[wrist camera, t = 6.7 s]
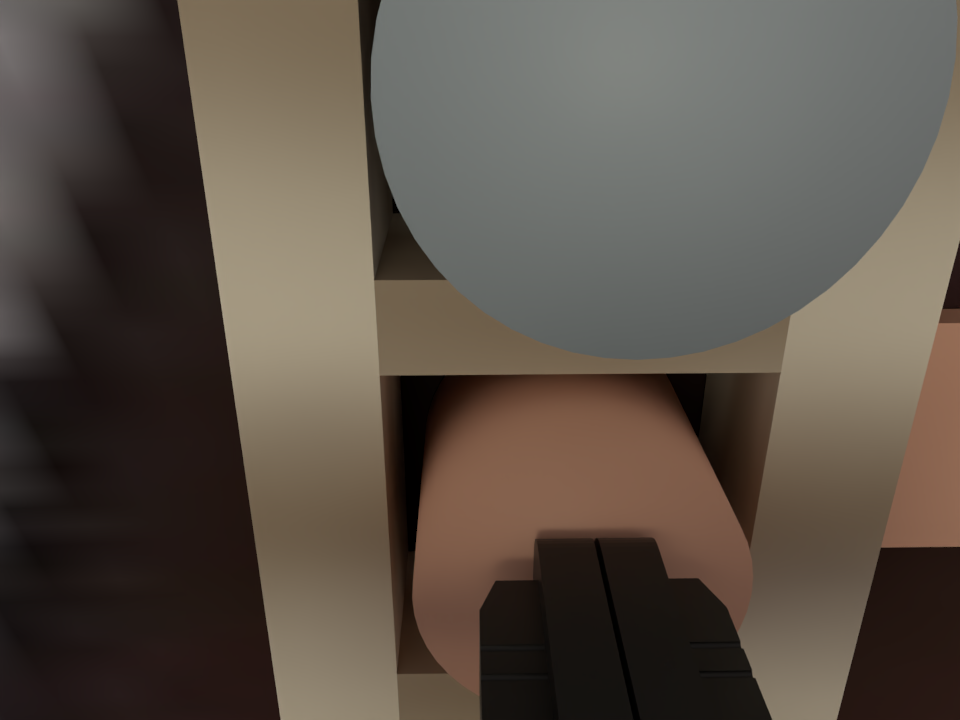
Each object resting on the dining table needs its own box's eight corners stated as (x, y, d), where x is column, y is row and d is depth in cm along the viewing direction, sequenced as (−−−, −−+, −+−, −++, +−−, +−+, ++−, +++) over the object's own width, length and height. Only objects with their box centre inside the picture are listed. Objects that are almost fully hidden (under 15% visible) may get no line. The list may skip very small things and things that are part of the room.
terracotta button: (667, 539, 15) (729, 716, 12) (428, 541, 15) (418, 720, 12) (694, 319, 14) (776, 449, 10) (420, 320, 13) (405, 452, 10)
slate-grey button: (748, 226, 11) (887, 358, 7) (411, 228, 11) (384, 361, 7) (804, -169, 9) (1032, -254, 5) (397, -171, 9) (350, -258, 5)
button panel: (733, 809, 19) (777, 950, 16) (336, 815, 19) (315, 958, 16) (942, -270, 10) (1110, -349, 8) (215, -273, 10) (125, -356, 8)
